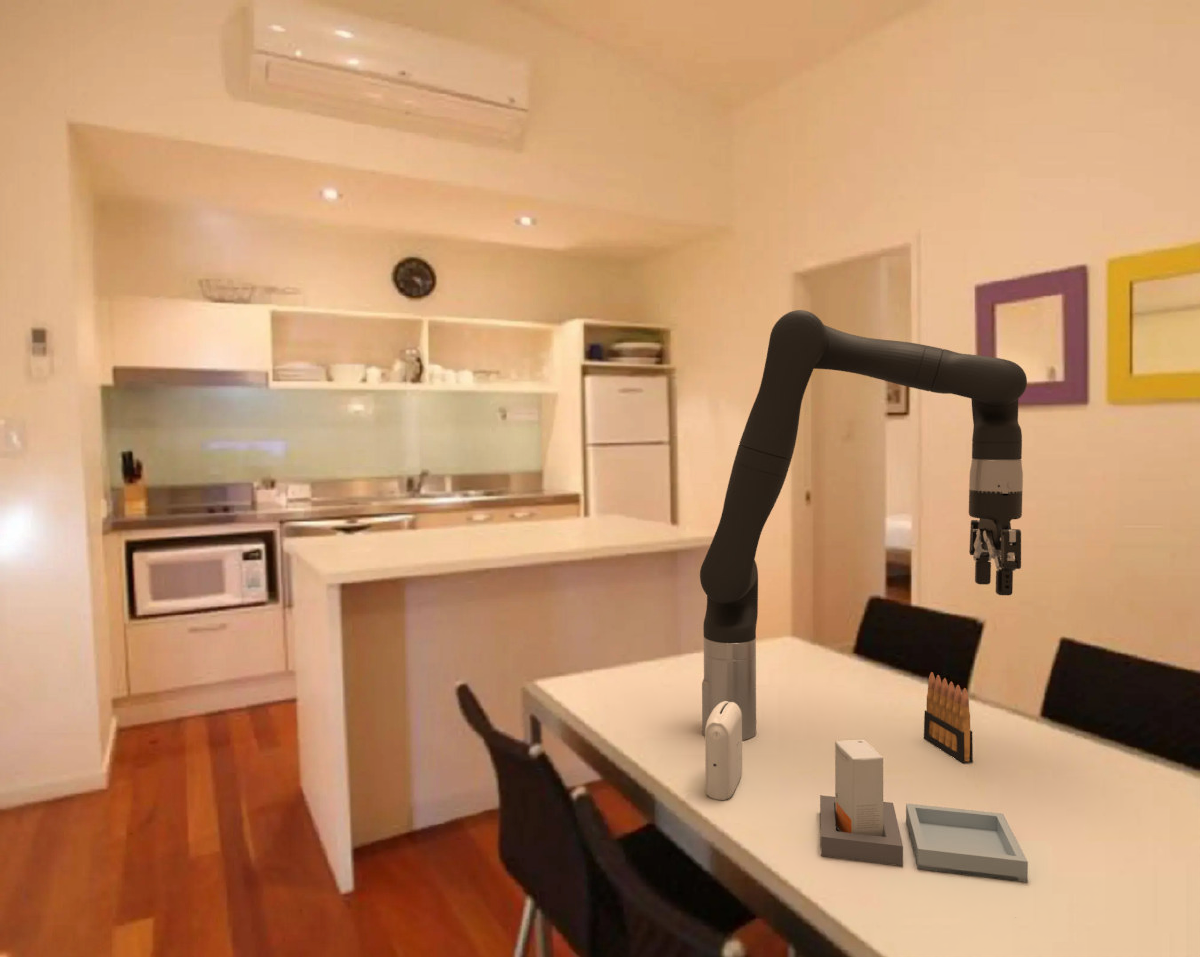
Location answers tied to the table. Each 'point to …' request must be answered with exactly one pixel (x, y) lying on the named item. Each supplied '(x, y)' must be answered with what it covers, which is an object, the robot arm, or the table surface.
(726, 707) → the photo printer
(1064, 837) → the table surface
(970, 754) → the ammunition clip
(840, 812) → the skincare box
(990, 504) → the robot arm
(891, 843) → the holder
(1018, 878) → the parts tray
